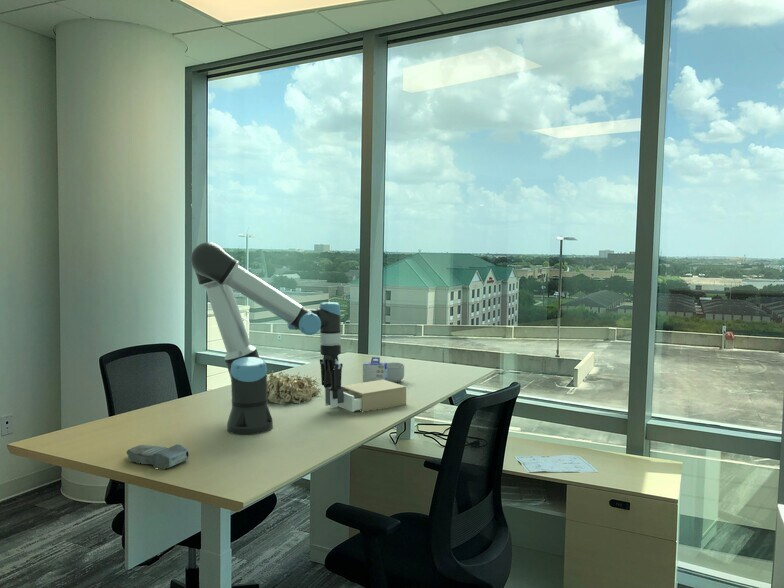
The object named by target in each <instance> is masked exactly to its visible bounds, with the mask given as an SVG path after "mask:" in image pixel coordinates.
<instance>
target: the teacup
mask: <svg viewBox="0 0 784 588" xmlns="http://www.w3.org/2000/svg"><path fill="white" fill-rule="evenodd" d="M386 363H387V381H390V382H393V383H396V384H398V383H400V382H401V381H402V380H403V379H404V377H405V363H403V362H386ZM397 382H398V383H397Z"/></svg>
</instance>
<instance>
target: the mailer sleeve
mask: <svg viewBox="0 0 784 588" xmlns="http://www.w3.org/2000/svg"><path fill="white" fill-rule="evenodd" d="M342 386H343V391H348V390H350V391H352V392H355V393H358V394H361V395H362V409H360V410H361V411H367V412H370V411H369V410H372V411H377V410H376V409H378V410H382V408H383V409H387V408H388V409H389V408H394V407H398V406H404V405H407V386H405V385H402V384H399V383H393V382H390V381H387V380H377V381H370V382H363V381H362V382H357V383H352V384H346V385H345V384H344V385H342ZM361 411H360V412H361Z"/></svg>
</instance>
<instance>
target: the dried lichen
mask: <svg viewBox="0 0 784 588" xmlns="http://www.w3.org/2000/svg"><path fill="white" fill-rule="evenodd" d="M283 373H285V371H283V372H282V370H280V372H278V374H274V370H271V372H269V373H268V374H269V376H267V403H274V404H277V405H278V404H280V405H283V406H284V405H285V403H286V404H298V403H300V404H301V402H303V403H304V401H307V402H311V401H312V400H313V397H312V395H316V397H317V396H319V395H322V393H321V392H322V389H321V388H320V387H319V386H320V382H319V381H318V378H317V377H315V375H314V376H308V375H305V374H304V375H303V377H302V376H301V375H299V374H300V373H301V371H299V372H297V374H291V375H290V374H288V373H286V374H283ZM313 377H314V378H313ZM310 400H311V401H310Z"/></svg>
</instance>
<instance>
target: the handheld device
mask: <svg viewBox="0 0 784 588" xmlns="http://www.w3.org/2000/svg"><path fill="white" fill-rule="evenodd" d="M189 453H190V452H189V450H188V449H187V447H185V446H183V445H181V444H174V445H172V446H170V447H167V446H166V447H165V446H160V445H153V444H151V445H149V444H140V445H136V446H133V447H131V448H129V449H128V450H127V451H126V455H127V459H128V461H129V460H130V461H132V462H131V463H133V462H136V463H135V464H140V463H141V464H142V465H153V468H158V469H157V470H159V469H161V470H166V468H167V469H169V468H172V467H174V466H176V465H178V464H180V463H183V462H186V461H187V460H188V459H189V456H190V455H189ZM130 461H129V462H130ZM141 464H140V465H141Z"/></svg>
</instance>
